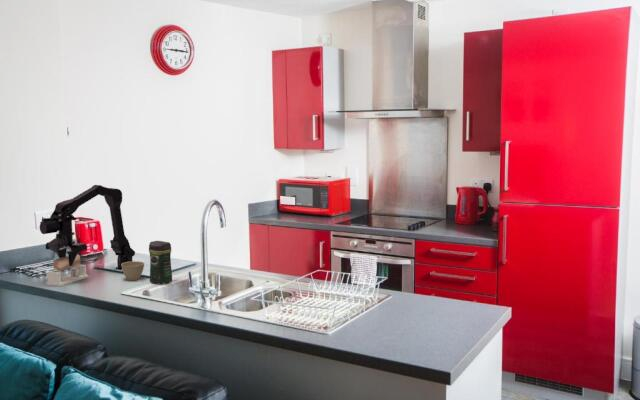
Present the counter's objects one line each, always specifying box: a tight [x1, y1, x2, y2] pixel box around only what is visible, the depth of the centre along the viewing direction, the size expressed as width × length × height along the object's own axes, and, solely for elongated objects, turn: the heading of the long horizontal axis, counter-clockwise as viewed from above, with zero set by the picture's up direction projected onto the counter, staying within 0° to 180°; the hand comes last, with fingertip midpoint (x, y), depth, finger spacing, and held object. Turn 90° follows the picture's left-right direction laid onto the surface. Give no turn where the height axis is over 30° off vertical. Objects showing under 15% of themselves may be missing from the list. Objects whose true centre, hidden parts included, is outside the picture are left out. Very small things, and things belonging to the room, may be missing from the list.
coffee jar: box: [148, 240, 173, 285], centre depth 268 cm, size 10×8×19 cm
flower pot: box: [121, 260, 145, 281], centre depth 274 cm, size 10×10×7 cm
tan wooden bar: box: [52, 254, 81, 272], centre depth 271 cm, size 4×12×4 cm, turn 159°
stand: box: [45, 264, 89, 287], centre depth 271 cm, size 8×17×6 cm, turn 159°
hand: (67, 265), depth 271 cm, fingers closed on tan wooden bar, 4 cm apart
